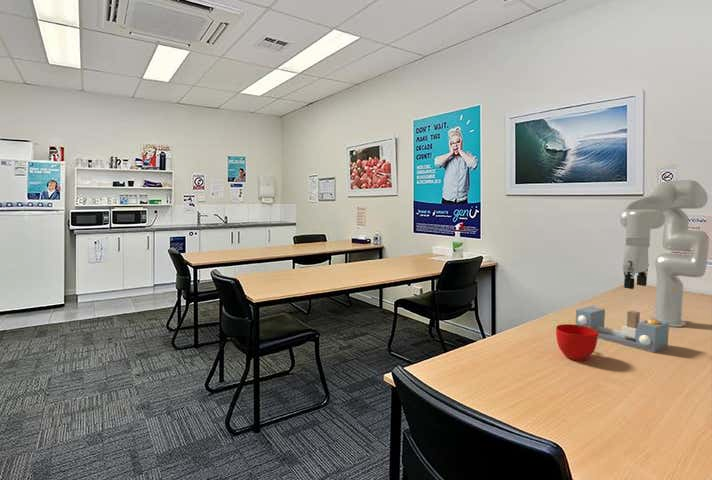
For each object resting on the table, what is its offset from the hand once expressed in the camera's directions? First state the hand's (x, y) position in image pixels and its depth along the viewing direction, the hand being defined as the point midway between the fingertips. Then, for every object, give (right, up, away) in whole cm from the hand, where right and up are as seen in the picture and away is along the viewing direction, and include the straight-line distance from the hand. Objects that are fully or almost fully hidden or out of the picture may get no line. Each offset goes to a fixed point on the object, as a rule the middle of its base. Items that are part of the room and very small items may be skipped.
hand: (635, 286), depth 155 cm
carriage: (0, -20, +2) cm, 20 cm away
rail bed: (-2, -22, +6) cm, 23 cm away
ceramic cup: (-29, -24, -10) cm, 39 cm away
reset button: (+4, -15, -4) cm, 16 cm away
